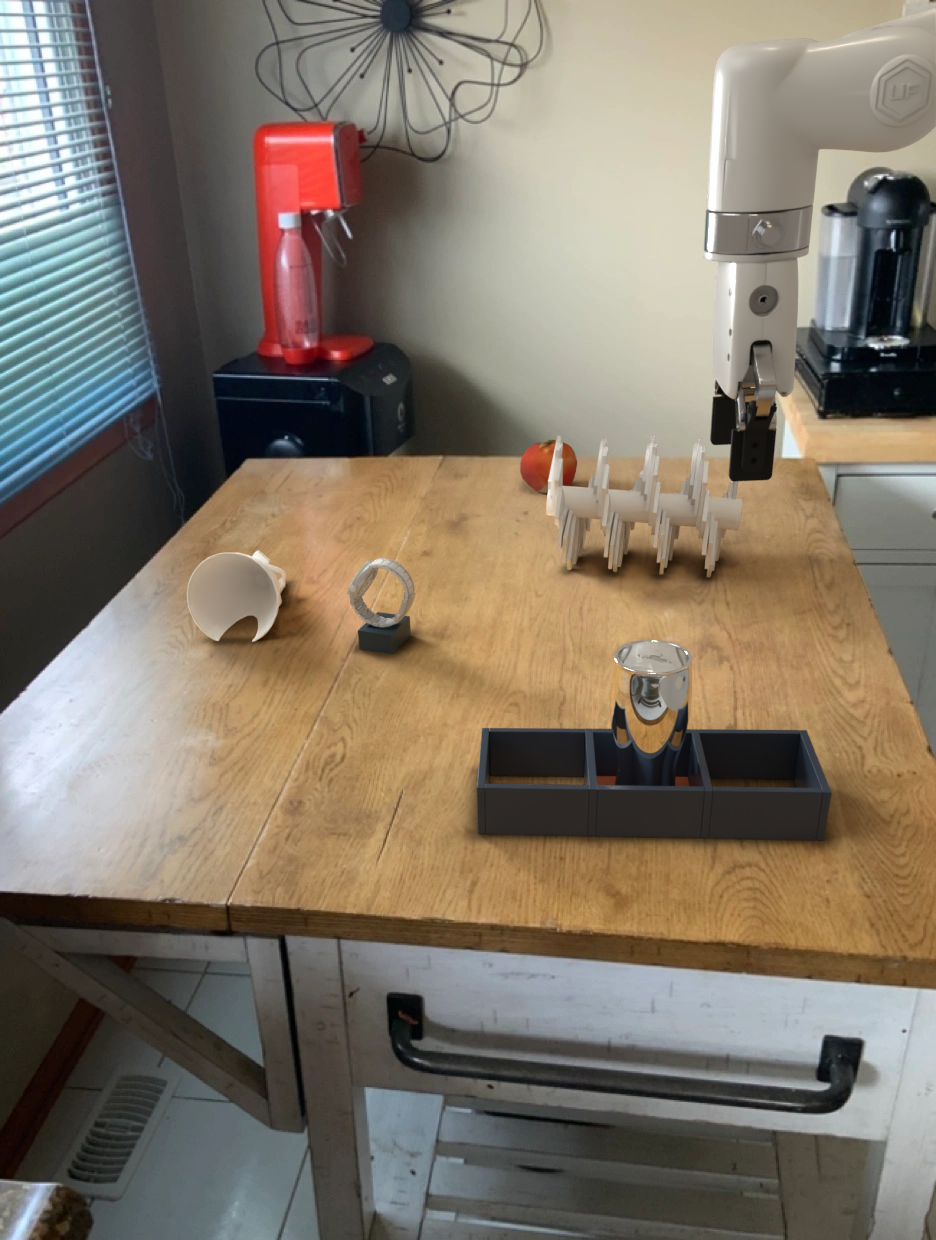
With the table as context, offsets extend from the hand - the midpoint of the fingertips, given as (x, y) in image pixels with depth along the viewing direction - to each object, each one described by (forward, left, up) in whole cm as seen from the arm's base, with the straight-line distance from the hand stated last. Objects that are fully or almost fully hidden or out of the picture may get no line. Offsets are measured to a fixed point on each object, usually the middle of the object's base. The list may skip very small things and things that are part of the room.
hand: (739, 460), depth 92 cm
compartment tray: (+7, +5, -31) cm, 32 cm away
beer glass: (+6, +5, -30) cm, 32 cm away
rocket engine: (+51, -38, -31) cm, 71 cm away
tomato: (+15, -87, -31) cm, 94 cm away
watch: (+35, -29, -31) cm, 55 cm away
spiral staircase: (+3, -53, -31) cm, 62 cm away
